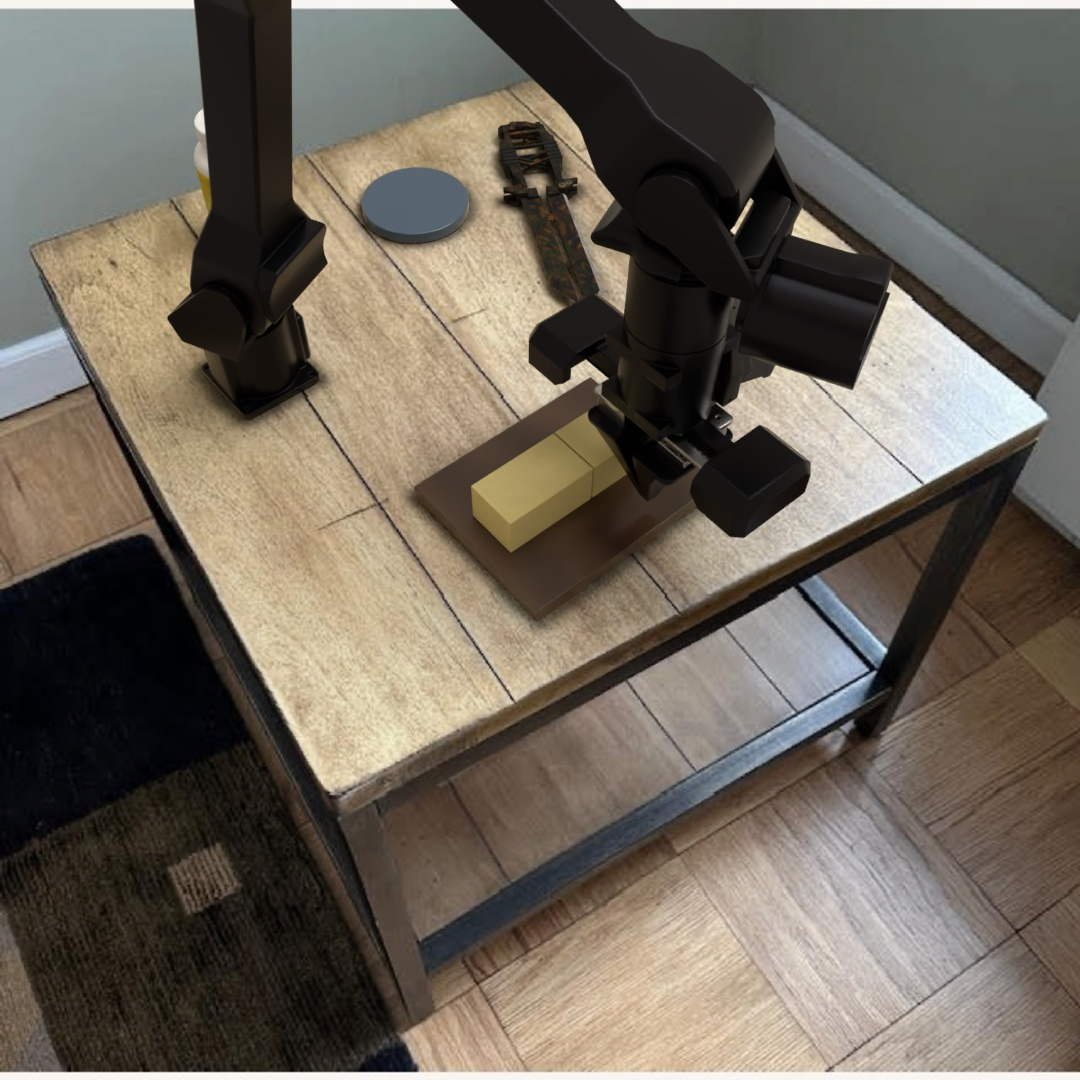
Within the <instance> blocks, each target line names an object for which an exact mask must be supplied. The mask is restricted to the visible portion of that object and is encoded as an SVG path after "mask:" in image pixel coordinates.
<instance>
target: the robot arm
mask: <svg viewBox="0 0 1080 1080" xmlns="http://www.w3.org/2000/svg"><path fill="white" fill-rule="evenodd" d="M449 1H450V2H451V3H452V4H453V5H454V6H455V7H456V8H457V9H459V11H460V12H462V13H463V14H464V15H465V16H466V17H467V18H468V19H469V20H470V21H471V22H472V23H473V24H474V25H475V26H476V27H477V28H479V29H480V31H482V32H483V33H484V35H486V36H487V37H488V38H489V39H490V40H491V41H492V43H494V44H495V45H496V46H497V47H498V48H499V49H500V50H501V51H502V52H503V53H504V54H506V55H507V56H508V57H509V59H511V61H513V62H514V63H515V64H516V65H517V66H518V67H519V68H520V69H521V70H522V71H523V72H524V73H526V75H527V76H528V77H529V78H531V80H533V81H534V83H536V85H538V86H539V87H540V88H541V89H542V90H543V91H544V92H545V93H546V94H547V95H548V96H549V97H550V98H551V99H553V100H554V102H556V104H557V105H558V106H560V107H561V108H562V109H563V110H564V112H565V113H566V114H567V115H568V117H569V118H570V120H571V121H572V122H573V123H574V124H575V126H576V128H578V130H579V132H580V134H581V138H582V140H583V143H584V145H585V148H586V151H587V153H588V156H589V159H590V160H591V164H592V167H593V169H594V173H595V174H596V177H597V179H598V180H599V181H600V182H601V184H602V185H603V186H604V188H605V190H607V191H608V193H609V194H610V195H611V197H613V201H612V202H611V203H610V205H609V206H608V208H607V210H606V211H605V212H604V214H603V215H602V217H601V218H600V220H599V221H598V222H597V224H596V226H595V227H594V229H593V230H592V231H591V232H590V241H591V242H592V243H593V244H594V245H595V246H599V247H602V248H605V249H609V250H612V251H615V252H618V253H621V254H625V255H628V256H629V258H628V260H629V261H628V270H627V281H626V290H625V291H626V292H625V300H624V309H623V312H622V311H621V310H620V309H618V308H617V307H615V306H614V305H613V304H612V303H611V302H609V301H608V300H607V299H605V298H604V297H602V296H601V297H600V296H598V295H596V294H594V293H592V294H589V295H587V296H584V297H583V296H582V297H581V298H578V300H577V301H576V302H575V301H574V302H572V303H570V304H568V305H567V306H566V307H564V308H562V309H560V310H559V311H556V312H554V313H553V314H551V315H550V316H548V317H546V318H545V319H543V320H541V321H539V322H537V323H536V325H535V326H534V327H533V329H532V331H531V333H530V334H529V337H528V363H529V364H530V366H532V367H533V368H534V369H536V371H538V372H539V373H540V374H541V375H542V376H544V377H545V378H546V379H547V380H548V381H549V382H550V383H551V384H553V385H554V386H558V385H563V384H565V383H567V382H568V381H571V379H572V369H573V368H575V367H576V366H578V365H579V364H581V363H582V362H584V361H587V362H588V363H589V364H590V365H592V367H594V368H595V369H596V370H598V372H600V373H601V374H602V375H604V377H606V378H607V379H605V380H603V381H602V382H600V383H598V384H599V385H597V386H596V387H595V389H594V393H595V395H597V396H598V403H597V405H596V406H594V407H592V408H591V409H590V410H589V411H588V419H589V421H590V423H591V424H593V425H594V426H595V427H596V429H597V430H598V432H599V433H600V434H601V436H602V437H603V439H604V440H605V442H606V443H607V445H608V446H609V448H610V449H611V451H612V452H613V453H614V455H615V457H616V458H617V460H618V461H619V463H620V464H621V466H622V467H623V469H624V471H625V472H626V474H627V475H628V477H629V479H630V480H631V482H632V483H633V485H634V487H635V488H636V490H637V492H638V493H639V494H640V495H641V496H642V497H643V498H644V499H645V500H646V501H650V500H651V499H653V498H654V497H655V496H657V495H658V494H659V493H660V492H661V491H662V490H663V488H664V487H665V486H669V485H673V484H674V483H676V482H677V481H679V480H680V479H682V478H683V477H685V476H686V475H687V474H689V473H690V472H692V471H693V470H695V469H696V468H698V469H699V472H698V473H697V475H696V476H695V477H694V479H693V480H692V483H691V488H690V494H691V496H692V498H693V501H694V503H695V505H696V509H697V510H698V511H699V512H700V513H701V514H702V515H704V516H705V517H706V518H707V519H709V520H710V521H711V522H712V523H713V524H714V525H715V526H717V528H719V529H720V531H722V532H723V533H724V534H726V535H727V536H728V537H729V538H737V539H745V538H747V537H748V536H750V535H751V534H752V533H753V532H754V531H756V530H757V529H759V528H760V527H762V525H764V524H765V523H767V522H768V521H769V520H770V519H772V518H773V517H774V516H775V515H777V514H779V513H780V512H781V511H782V510H784V509H785V508H786V507H788V506H789V505H790V504H792V503H793V502H794V501H796V500H797V499H798V498H800V497H802V496H803V495H804V494H805V493H806V491H807V487H808V484H809V483H810V482H809V481H810V478H811V476H812V475H811V474H812V468H811V467H812V462H811V461H810V460H809V459H808V458H807V457H805V456H804V455H803V454H802V453H800V451H798V450H797V449H795V448H794V447H793V446H791V445H790V444H788V443H787V442H786V441H785V440H784V439H782V437H780V436H778V435H777V434H776V433H775V432H774V431H772V429H770V428H769V427H767V426H764V425H762V424H758V425H757V426H756V427H754V428H753V429H751V430H749V431H748V432H746V434H744V435H742V436H741V437H740V438H738V439H737V440H736V441H732V440H733V438H734V433H733V431H732V430H731V429H730V428H729V426H731V425H732V424H733V422H734V417H733V415H732V414H730V413H729V412H727V411H726V410H725V409H724V407H726V406H728V405H729V404H730V403H732V402H733V401H735V400H736V399H738V398H739V397H738V396H739V392H740V389H741V384H744V383H748V382H750V381H753V380H757V379H759V378H763V379H766V378H769V377H770V376H771V375H772V373H773V372H774V370H775V367H776V366H777V367H779V368H782V369H785V370H789V371H792V372H795V373H798V374H801V375H804V376H807V377H810V378H814V379H816V380H818V381H819V380H820V381H823V382H826V383H829V384H832V385H833V386H834V385H835V386H838V387H841V388H844V389H847V390H851V391H854V389H855V386H856V384H857V382H858V379H859V377H860V375H861V372H862V370H863V367H864V365H865V362H866V359H867V357H868V354H869V352H870V349H871V346H872V344H873V341H874V338H875V336H876V333H877V331H878V328H879V325H880V323H881V320H882V317H883V315H884V312H885V310H886V307H887V304H888V302H889V301H888V300H889V298H890V295H891V292H888V289H889V285H890V282H891V276H892V273H893V270H894V268H895V265H894V262H892V260H889V259H885V258H883V257H880V256H876V255H873V254H868V253H867V254H866V253H856V252H850V251H848V250H847V251H846V250H843V249H839V248H836V247H832V246H830V245H826V244H822V243H819V242H815V241H812V240H809V239H805V238H802V237H799V236H795V235H793V230H794V226H795V223H796V221H797V219H798V218H799V215H800V214H801V212H802V210H803V208H804V200H803V199H802V197H801V194H800V193H799V191H798V188H797V187H796V184H795V182H794V181H793V179H792V177H791V175H790V172H789V171H788V169H787V166H786V165H785V163H784V161H783V159H782V157H781V155H780V153H779V150H778V149H777V146H776V129H775V127H776V125H777V124H776V123H777V122H776V119H775V117H774V114H773V112H772V110H771V108H770V107H769V105H768V104H767V102H766V101H765V99H764V98H763V97H762V96H761V94H759V93H758V91H756V90H755V89H754V88H753V87H752V86H749V85H748V84H747V83H746V82H744V81H743V80H742V79H740V78H739V77H738V76H736V75H735V74H734V73H732V72H731V71H730V70H728V69H727V68H725V67H724V66H723V65H722V64H720V63H719V62H717V61H716V60H715V59H713V58H712V57H710V56H709V54H707V53H705V52H704V51H702V50H700V49H697V48H693V47H690V46H687V45H684V44H681V43H677V42H674V41H671V40H668V39H665V38H662V37H659V36H657V35H656V34H654V33H653V32H652V31H650V30H649V29H648V28H646V27H645V26H644V25H642V24H641V23H639V22H638V21H637V20H635V19H634V18H633V16H631V14H629V12H628V11H627V10H625V9H624V7H623V6H622V5H621V4H619V3H618V2H617V0H449ZM292 3H293V2H292V0H193V9H194V10H193V11H194V22H195V33H196V43H197V45H196V46H197V57H198V65H199V66H198V67H199V77H200V78H199V79H200V89H201V90H200V91H201V103H202V109H203V114H204V125H205V137H206V148H207V160H208V171H209V183H210V194H211V208H210V211H209V213H208V212H207V213H208V214H207V216H206V219H205V221H204V222H203V226H202V228H201V229H200V233H199V235H198V237H197V239H196V242H195V244H194V247H193V249H192V255H191V264H190V271H189V272H190V273H189V287H190V292H189V293H188V295H186V296H185V297H184V299H182V300H181V301H180V303H179V304H178V305H177V306H176V307H175V308H174V309H173V310H172V311H171V312H170V313H169V314H167V316H166V319H167V322H169V324H170V326H171V327H172V329H173V331H174V332H175V334H176V335H177V336H178V337H179V340H180V341H181V342H183V343H185V344H187V345H190V346H193V347H195V348H199V349H201V350H203V353H204V356H205V360H206V363H204V364H203V365H202V366H201V372H202V373H203V375H204V376H205V377H206V378H207V379H208V380H209V382H210V383H211V384H212V385H213V387H215V388H216V389H217V390H218V391H219V393H220V394H221V395H222V396H223V397H224V398H225V399H226V400H227V401H228V402H229V404H230V405H231V406H232V407H233V408H234V409H235V411H237V412H238V413H239V414H240V415H241V417H243V418H244V419H247V420H248V419H252V418H254V417H255V416H258V415H259V414H261V413H264V412H265V411H267V410H269V409H271V408H272V407H274V406H276V405H278V404H279V403H281V402H283V401H285V400H287V399H289V398H291V397H292V396H294V395H296V394H297V393H300V392H302V391H303V390H305V389H306V388H309V387H311V386H312V385H314V384H316V383H317V382H319V380H320V378H321V376H320V372H319V371H318V370H317V369H316V368H315V367H314V365H312V364H311V362H309V361H308V360H309V359H311V355H312V352H311V347H310V343H309V339H308V335H307V330H306V326H305V325H306V324H305V322H304V317H303V315H302V314H301V313H299V311H298V310H296V309H295V305H294V303H295V302H296V301H297V300H298V299H299V298H300V297H301V295H302V294H303V293H304V292H305V290H306V289H308V287H309V286H310V285H311V283H312V282H313V281H314V280H315V279H317V277H318V276H319V274H320V273H321V272H322V271H323V270H324V269H325V268H326V267H327V265H328V264H329V262H328V259H327V257H326V253H325V248H324V247H325V246H324V244H325V243H324V242H325V238H326V233H327V229H328V228H327V225H326V224H325V223H324V222H322V221H319V220H317V219H313V218H311V217H310V216H309V215H308V214H307V213H306V212H305V211H304V209H303V208H302V207H301V206H300V205H299V204H298V203H297V201H295V200H294V193H293V192H294V191H293V190H294V189H293V188H294V187H293V181H294V180H293V179H294V178H293V39H292V38H293V27H292V26H293V22H292V21H293V18H292V17H293V14H292V13H293V12H292V10H293V9H292V6H293V5H292ZM750 200H752V202H751V205H750V206H749V208H748V210H747V211H746V213H745V215H744V217H743V219H742V221H741V223H740V224H739V226H738V228H737V229H736V231H735V233H733V232H732V231H731V230H732V229H734V228H735V226H736V224H737V222H738V221H739V220H740V217H741V215H742V214H743V212H744V210H745V208H746V207H747V205H748V203H749V201H750Z"/></svg>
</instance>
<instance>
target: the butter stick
mask: <svg viewBox="0 0 1080 1080" xmlns="http://www.w3.org/2000/svg"><path fill="white" fill-rule="evenodd" d="M592 476H593V468H592V467H590V466H589V465H588V464H587V463H586V462H585V461H584V460H583V459H582V458H580V457H579V456H578V455H577V454H576V453H575V452H574V451H573V450H571V449H570V448H569V447H568V446H567V445H566V444H565V443H564V442H562V441H561V440H560V439H559V438H558V437H557V436H556V435H555V434H552V435H550V436H549V437H547V438H546V439H544V440H542V441H541V442H539V443H538V444H536V445H535V446H533V447H531V448H530V449H528V450H527V451H525V452H524V453H522V454H520V455H519V456H517V457H516V458H514V459H513V460H511V461H509V462H508V463H506V464H505V465H503V466H502V467H500V468H498V469H497V470H495V471H494V472H492V473H491V474H489V475H487V476H486V477H484V478H483V479H481V480H480V481H478V482H476V483H475V484H473V485H472V486H471V492H472V507H473V516H474V517H475V518H476V519H477V520H478V521H479V522H480V523H481V524H482V525H483V526H484V527H485V528H486V529H487V530H488V531H489V532H490V533H491V534H492V535H493V536H494V537H495V538H496V539H497V540H498V541H499V542H500V543H501V544H502V545H503V546H504V547H505V548H506V549H507V550H508V551H509V552H513V551H514V550H516V549H517V548H519V547H520V546H522V545H523V544H525V543H526V542H528V541H529V540H531V539H532V538H533V537H535V536H536V535H538V534H539V533H541V532H542V531H544V530H545V529H547V528H548V527H550V526H551V525H553V524H554V523H556V522H557V521H559V520H560V519H562V518H563V517H564V516H566V515H567V514H569V513H570V512H572V511H573V510H575V509H576V508H578V507H579V506H581V505H582V504H584V503H585V502H587V501H588V500H590V499H591V490H592Z"/></svg>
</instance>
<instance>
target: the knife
mask: <svg viewBox="0 0 1080 1080" xmlns="http://www.w3.org/2000/svg"><path fill="white" fill-rule="evenodd" d="M497 136H498V139H499V140H502V143H499V144H498V147H499V149H498V150H499V161H500V163H501V167H502V170H503V174H504V176H505V178H508V179H510V181H511V185H509V186H503V187H502V192H503V194H504V195H503V203H504V204H508V205H511V206H514V207H518V208H521V207H522V208H523V210H524V213H525V216H526V220H527V223H528V225H529V228H530V232H531V234H532V237H533V239H534V242H535V245H536V248H537V251H538V253H539V257H540V259H541V263H542V266H543V268H544V271H545V273H546V277H547V280H548V283H549V285H550V287H551V288H552V289H554V290H555V291H557V292H559V293H561V294H562V295H564V296H566V298H569V300H572V301H574V302H576V301H577V300H579V298H578V294H577V291H576V289H575V287H574V284H573V282H572V279H571V276H570V272H569V269H570V270H571V269H572V271H573V272H572V273H573V274H574V277H575V280H576V283H577V286H578V288H579V291H580V294H581V296H582V298H583V297H584V296H587V295H589V294H592V293H594V294H596V295H598V296H600V297H602V296H603V294H604V289H603V287H602V284H601V281H600V279H599V277H598V274H597V270H596V269H595V265H594V262H593V261H592V259H591V256H590V253H589V250H588V247H587V245H586V243H585V240H584V237H583V235H582V232H581V230H580V227H579V224H578V222H577V219H576V216H575V214H574V212H573V209H572V207H571V204H570V201H569V200H570V199H571V198H572V197H574V196H575V195H576V194H578V184H579V178H578V177H577V176H575V177H568V178H563V176H562V172H563V168H564V167H563V154H562V152H561V150H560V147H559V144H558V140H556V139H555V136H554V134H551V133H550V132H549V131H548V130H547V129H546V128H545V125H544V124H543V123H541V121H534V122H530V121H527V120H520V121H517V120H516V121H515V120H514V121H509V123H507V124H501V125H499V126H498V127H497ZM511 137H512V138H522V141H521V140H520V141H515V142H512V138H511ZM537 148H540V151H539V152H537V153H530V154H523V155H518V153H517V151H522V150H529V149H537ZM537 159H538V160H537ZM522 167H525V168H522ZM535 169H536V170H540V171H544V172H549V174H550V176H551V177H550V178H551V179H552V182H553V184H551V185H546V186H545V196H546V199H545V200H546V201H547V204H548V206H549V209H550V213H548V212H547V210H546V207H545V204H544V201H543V199H542V196H541V195H540V194H539V191H538V189H537V187H528V184H527V181H526V178H525V175H524V174H526V173H528V172H531V171H533V170H535ZM551 222H554V223H555V225H556V229H557V231H558V234H559V237H560V240H561V242H562V245H563V247H564V250H565V253H566V255H567V259H568V261H566V262H565V259H564V257H563V254H562V251H561V248H560V245H559V243H558V240H557V237H556V234H555V232H554V229H553V226H552V224H551Z"/></svg>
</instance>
